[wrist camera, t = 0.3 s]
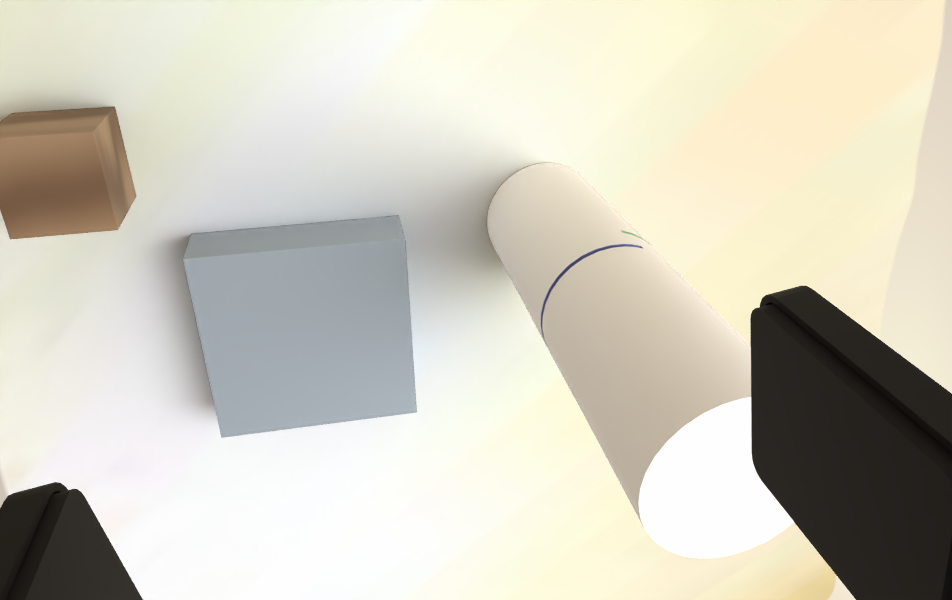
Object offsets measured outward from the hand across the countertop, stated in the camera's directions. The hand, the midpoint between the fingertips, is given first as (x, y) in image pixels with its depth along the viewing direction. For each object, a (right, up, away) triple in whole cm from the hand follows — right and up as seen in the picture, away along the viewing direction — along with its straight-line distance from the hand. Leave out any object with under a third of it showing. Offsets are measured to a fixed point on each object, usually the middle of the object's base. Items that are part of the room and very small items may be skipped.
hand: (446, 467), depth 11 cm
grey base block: (-10, +2, +38) cm, 39 cm away
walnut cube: (-21, +10, +31) cm, 39 cm away
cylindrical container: (+5, +8, +38) cm, 39 cm away
